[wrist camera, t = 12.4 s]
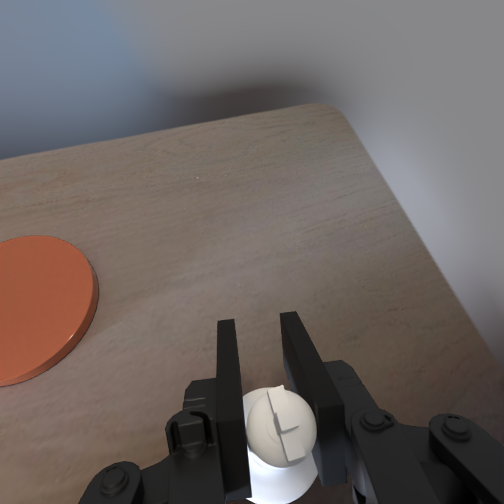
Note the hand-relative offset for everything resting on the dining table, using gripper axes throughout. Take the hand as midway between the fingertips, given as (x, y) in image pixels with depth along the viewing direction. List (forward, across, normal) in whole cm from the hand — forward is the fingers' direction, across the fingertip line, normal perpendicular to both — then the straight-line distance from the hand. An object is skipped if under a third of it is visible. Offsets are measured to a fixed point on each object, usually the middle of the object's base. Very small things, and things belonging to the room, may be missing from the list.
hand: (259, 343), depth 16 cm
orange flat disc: (+13, -18, -1) cm, 22 cm away
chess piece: (0, 0, -5) cm, 5 cm away
